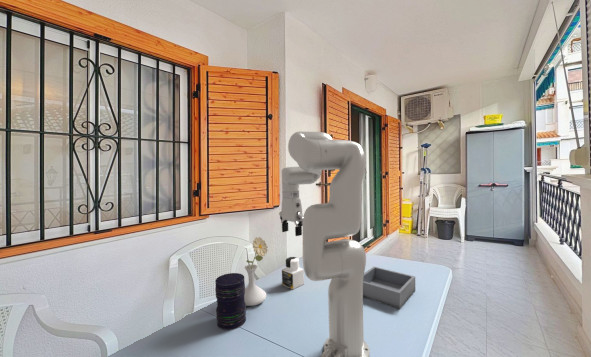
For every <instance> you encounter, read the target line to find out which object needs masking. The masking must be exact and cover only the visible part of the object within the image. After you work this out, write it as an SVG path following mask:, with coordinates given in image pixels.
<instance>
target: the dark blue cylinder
mask: <svg viewBox="0 0 591 357" xmlns="http://www.w3.org/2000/svg"><path fill="white" fill-rule="evenodd" d="M214 282H215V288H214V289H215V298H216V309H215V312H216V324H217V327H218V328H219V329H221V330H224V331H231V330H236V329H238V328H241V327H242V326H243V325H244V324H245V323H246V320H247V317H246V313H247V309H246V307H247V305H246V304H245V300H244V294H245V288H246V282H245V275H244V274H243V273H237V272H236V273H235V272H231V273H230V272H229V273H225V274H221V275H220V276H218V277H217V278H216V279H215V281H214Z"/></svg>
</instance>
